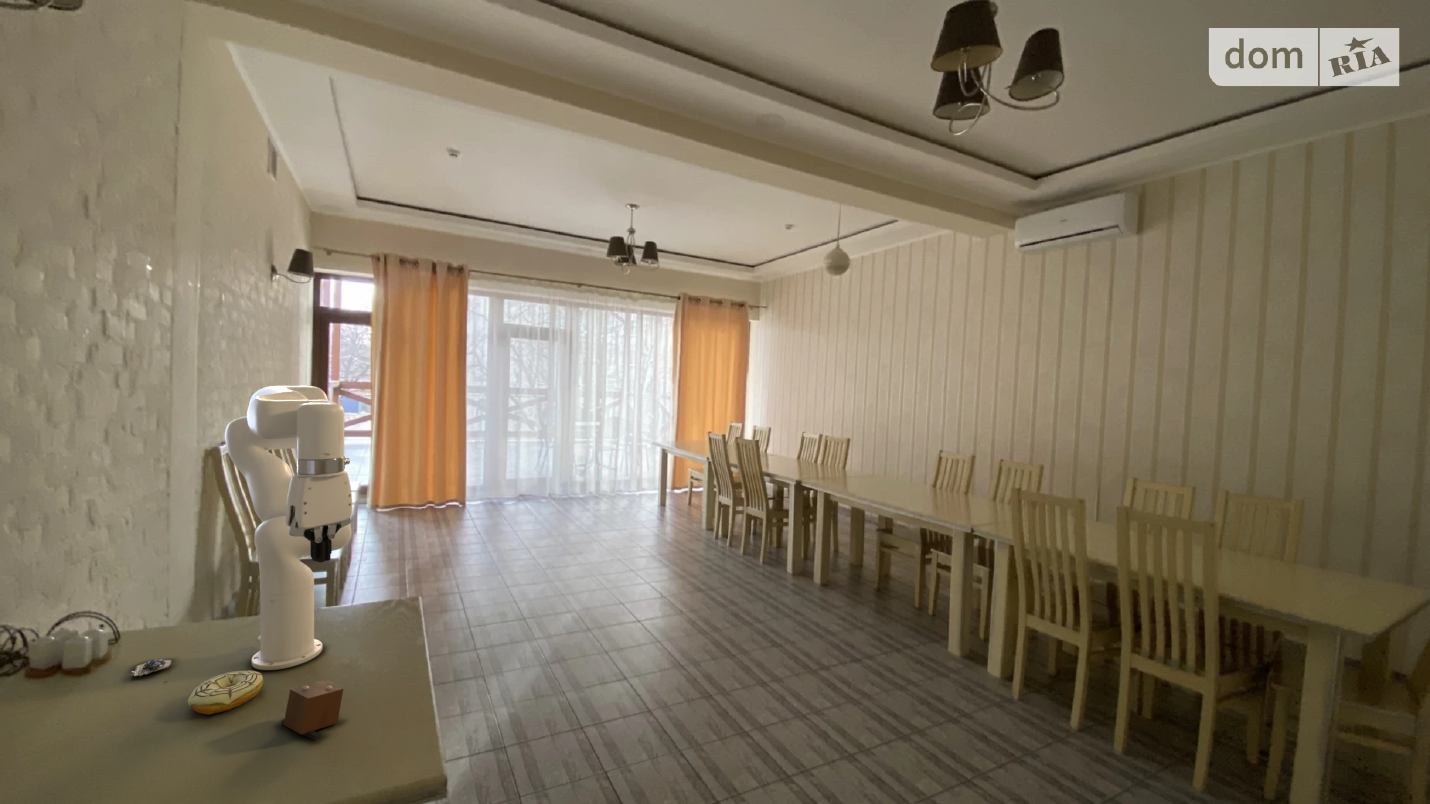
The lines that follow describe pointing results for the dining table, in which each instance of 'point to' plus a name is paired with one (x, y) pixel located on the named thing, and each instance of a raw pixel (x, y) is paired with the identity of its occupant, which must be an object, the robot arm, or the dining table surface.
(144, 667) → the oyster shell
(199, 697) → the decorated donut
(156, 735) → the dining table surface
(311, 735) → the stop strip
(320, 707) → the die
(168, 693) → the dining table surface
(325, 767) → the dining table surface
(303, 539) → the robot arm
